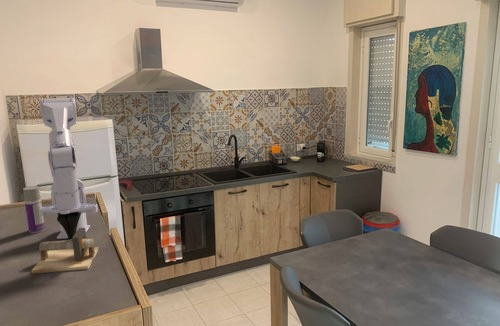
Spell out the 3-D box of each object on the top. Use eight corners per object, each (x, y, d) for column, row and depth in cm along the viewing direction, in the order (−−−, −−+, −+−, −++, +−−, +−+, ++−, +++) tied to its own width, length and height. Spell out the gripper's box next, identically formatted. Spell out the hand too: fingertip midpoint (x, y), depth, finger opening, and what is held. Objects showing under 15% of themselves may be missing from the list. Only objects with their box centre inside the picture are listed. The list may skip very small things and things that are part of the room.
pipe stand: (48, 252, 108) (46, 234, 106) (98, 249, 110) (96, 230, 108) (31, 273, 96) (28, 252, 95) (88, 268, 98) (85, 248, 97)
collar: (81, 249, 107) (79, 228, 105) (87, 249, 107) (85, 227, 106) (74, 260, 100) (72, 237, 99) (81, 260, 100) (78, 237, 99)
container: (26, 231, 123) (19, 188, 120) (39, 226, 127) (33, 185, 124) (34, 234, 121) (28, 190, 117) (48, 229, 125) (42, 186, 121)
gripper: (31, 197, 94) (38, 246, 97) (91, 194, 96) (96, 242, 99) (42, 189, 101) (48, 235, 104) (97, 186, 103) (102, 231, 106)
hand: (72, 238), depth 102 cm, fingers closed
